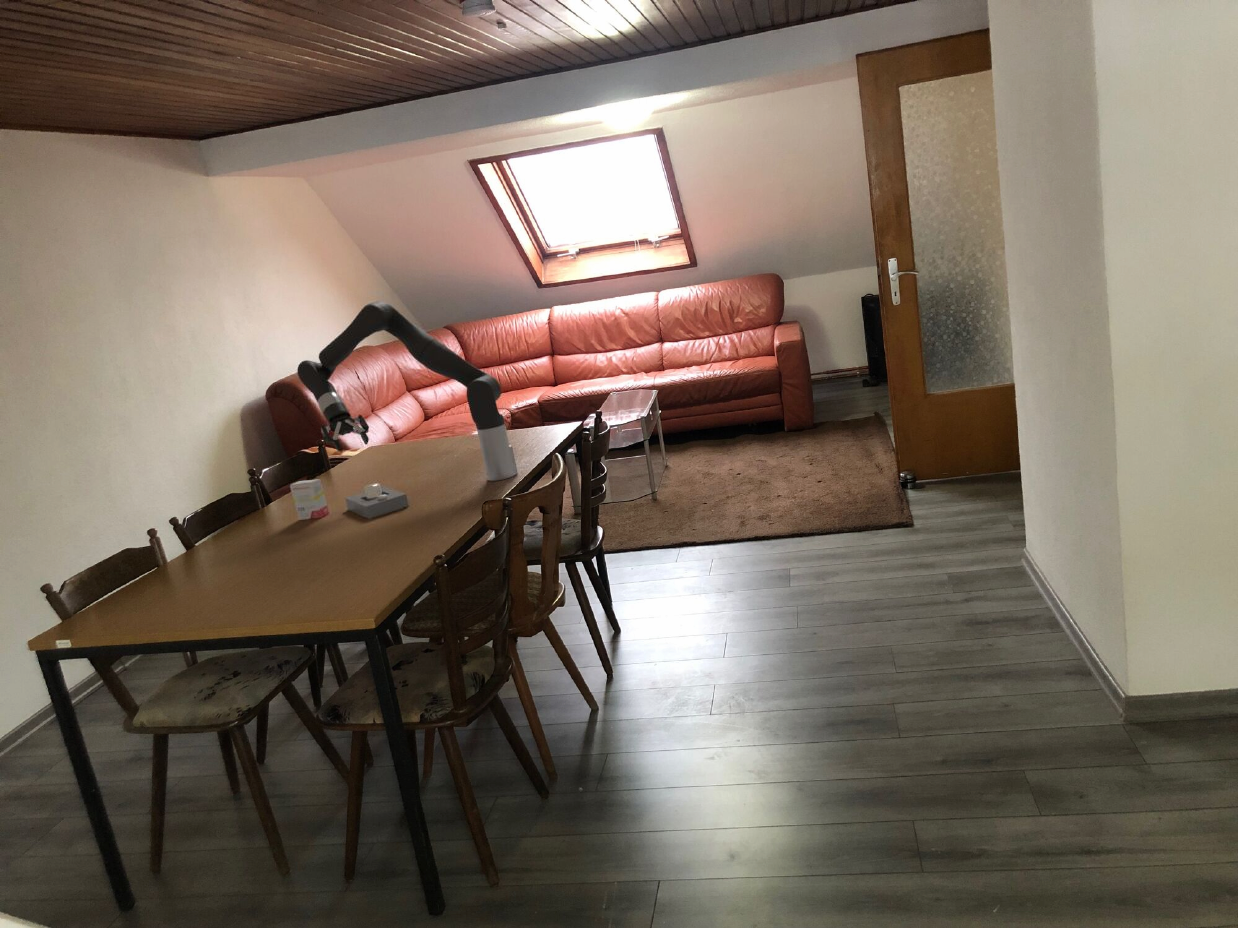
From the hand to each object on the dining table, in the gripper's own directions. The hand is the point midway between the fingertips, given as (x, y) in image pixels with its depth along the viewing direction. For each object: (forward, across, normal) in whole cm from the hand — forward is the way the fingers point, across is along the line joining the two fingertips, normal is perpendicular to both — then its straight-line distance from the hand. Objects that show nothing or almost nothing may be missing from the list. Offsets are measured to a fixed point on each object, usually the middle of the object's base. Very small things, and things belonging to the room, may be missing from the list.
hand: (354, 446), depth 305 cm
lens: (+21, -1, +5) cm, 22 cm away
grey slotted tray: (+21, -1, +5) cm, 22 cm away
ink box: (+11, -17, +16) cm, 26 cm away
